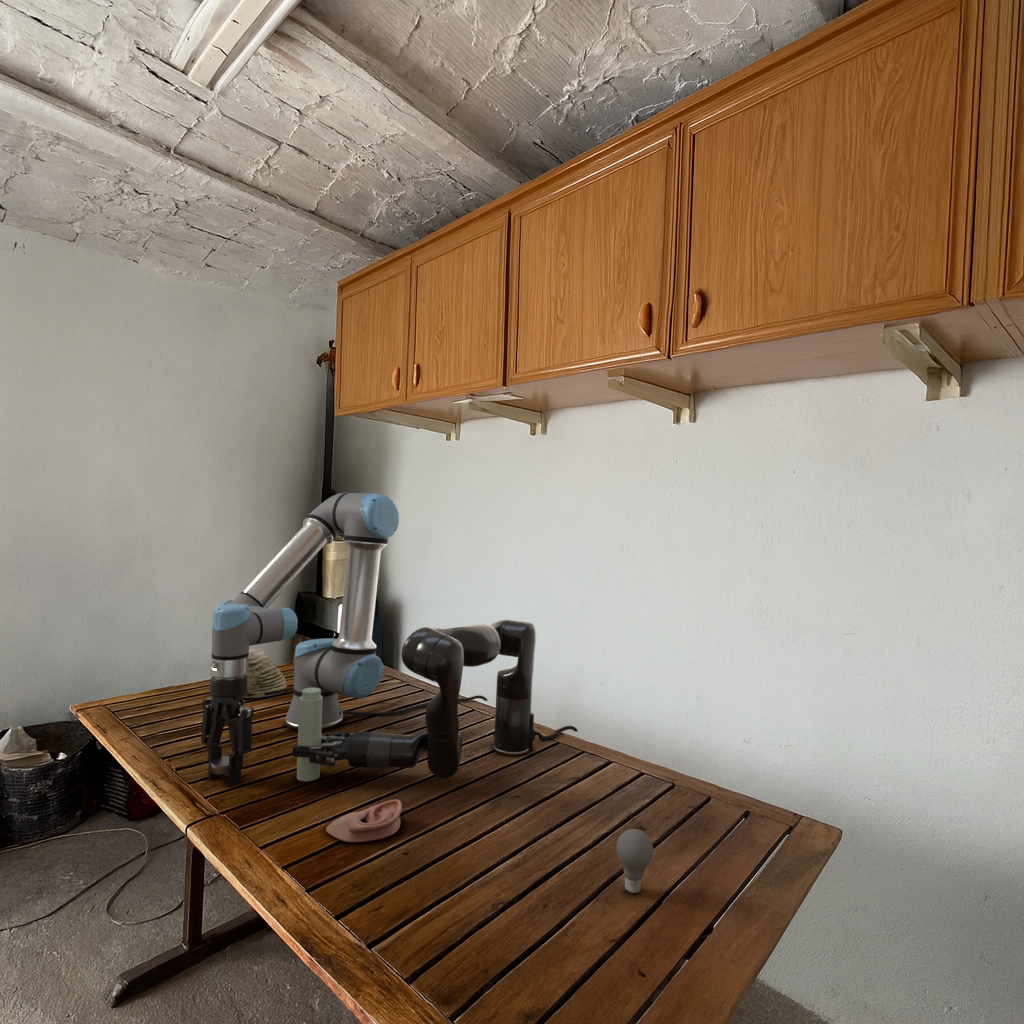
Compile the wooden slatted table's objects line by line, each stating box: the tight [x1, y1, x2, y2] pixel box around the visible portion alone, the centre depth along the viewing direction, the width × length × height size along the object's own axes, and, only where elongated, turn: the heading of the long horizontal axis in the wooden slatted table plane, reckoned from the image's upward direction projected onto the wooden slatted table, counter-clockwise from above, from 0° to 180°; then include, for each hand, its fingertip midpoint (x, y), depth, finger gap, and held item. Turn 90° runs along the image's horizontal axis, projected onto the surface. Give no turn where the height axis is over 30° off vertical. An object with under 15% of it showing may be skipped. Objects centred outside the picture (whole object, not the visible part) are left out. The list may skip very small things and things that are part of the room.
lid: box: [210, 755, 229, 776], centre depth 139 cm, size 6×6×2 cm
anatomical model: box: [325, 799, 403, 843], centre depth 122 cm, size 13×4×12 cm
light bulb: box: [615, 828, 654, 894], centre depth 106 cm, size 6×6×10 cm
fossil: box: [243, 647, 288, 699], centre depth 198 cm, size 9×18×15 cm, turn 132°
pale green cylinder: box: [296, 688, 323, 782], centre depth 143 cm, size 5×5×20 cm
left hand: (224, 780), depth 139 cm, fingers closed on lid, 6 cm apart
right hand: (297, 746), depth 143 cm, fingers closed on pale green cylinder, 5 cm apart
